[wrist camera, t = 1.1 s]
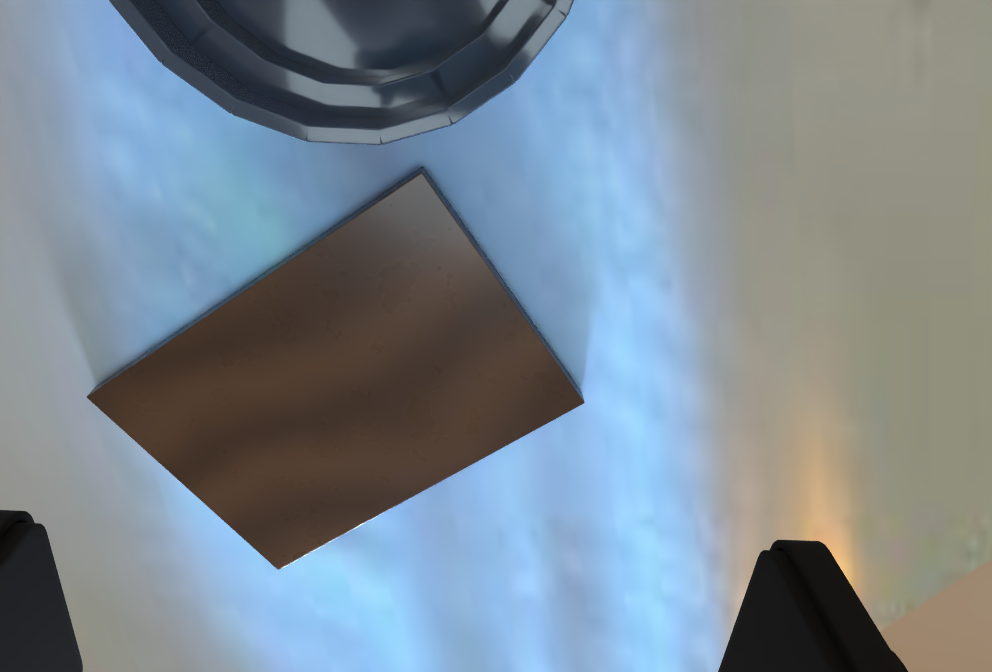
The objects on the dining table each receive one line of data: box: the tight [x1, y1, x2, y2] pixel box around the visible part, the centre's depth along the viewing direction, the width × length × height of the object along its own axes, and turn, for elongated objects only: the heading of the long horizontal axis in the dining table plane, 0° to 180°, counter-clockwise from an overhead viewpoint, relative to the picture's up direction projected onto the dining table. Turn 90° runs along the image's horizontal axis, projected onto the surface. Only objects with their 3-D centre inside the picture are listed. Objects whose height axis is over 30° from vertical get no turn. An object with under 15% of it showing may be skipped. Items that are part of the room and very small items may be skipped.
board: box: [87, 167, 584, 570], centre depth 36 cm, size 14×20×1 cm
